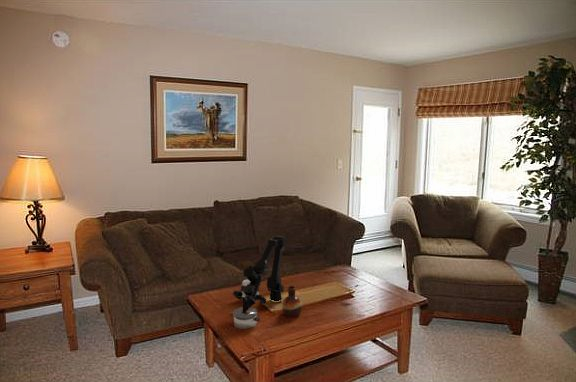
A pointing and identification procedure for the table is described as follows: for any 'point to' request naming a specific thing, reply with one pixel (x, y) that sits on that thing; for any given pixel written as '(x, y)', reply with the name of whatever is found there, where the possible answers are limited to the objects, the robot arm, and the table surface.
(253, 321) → the cooker pot
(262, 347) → the table surface
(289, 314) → the vase
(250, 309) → the cooker lid
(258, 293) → the photo printer
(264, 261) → the robot arm
